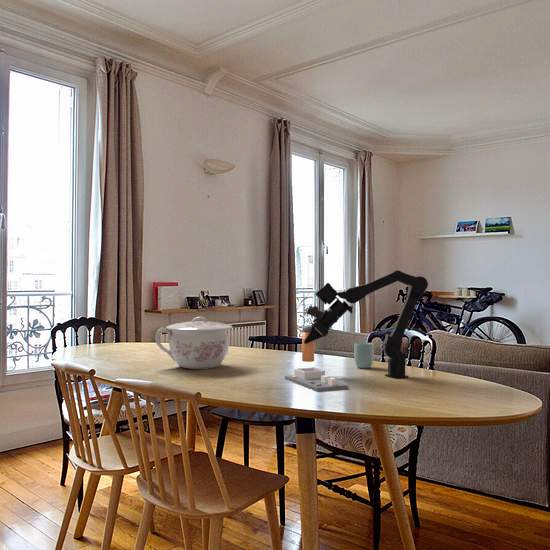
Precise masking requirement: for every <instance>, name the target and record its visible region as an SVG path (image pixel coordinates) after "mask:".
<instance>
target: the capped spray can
mask: <svg viewBox="0 0 550 550" xmlns="http://www.w3.org/2000/svg"><path fill="white" fill-rule="evenodd" d="M301 329H302V330H301V331H302V332H301V334H302V336H301V337H302V338H301V340H302V341H301V355H302V356H301V358H302V359H301V360H302V362H307V363H310V362H315V340H314V341H311V342H309V343H307V344H305V343H304V341H305V339H306V338H307V336H308V335H309V333H310V332H311V331H312V325H304V326H301Z"/></svg>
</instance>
